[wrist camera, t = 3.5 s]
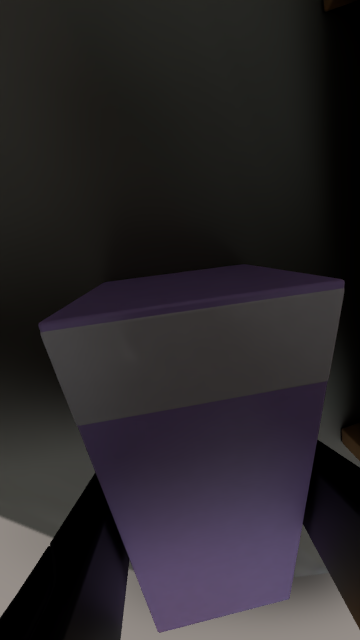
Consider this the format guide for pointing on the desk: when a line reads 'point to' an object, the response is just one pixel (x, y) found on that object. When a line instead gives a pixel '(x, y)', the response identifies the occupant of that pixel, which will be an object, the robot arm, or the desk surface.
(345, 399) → the desk surface
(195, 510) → the purple box
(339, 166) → the desk surface
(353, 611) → the robot arm
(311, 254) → the desk surface
